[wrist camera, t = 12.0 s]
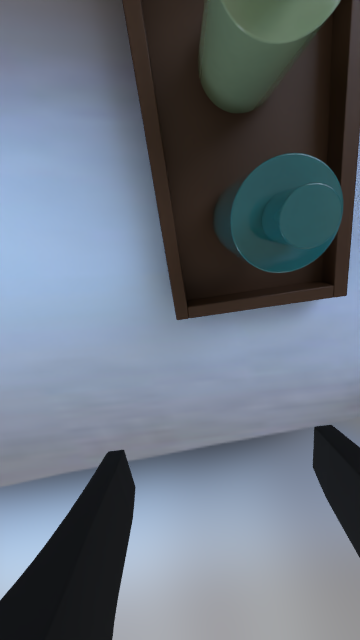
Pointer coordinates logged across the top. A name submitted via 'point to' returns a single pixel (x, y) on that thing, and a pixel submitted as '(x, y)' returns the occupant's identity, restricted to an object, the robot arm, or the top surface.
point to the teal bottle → (280, 213)
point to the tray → (241, 152)
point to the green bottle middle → (254, 46)
